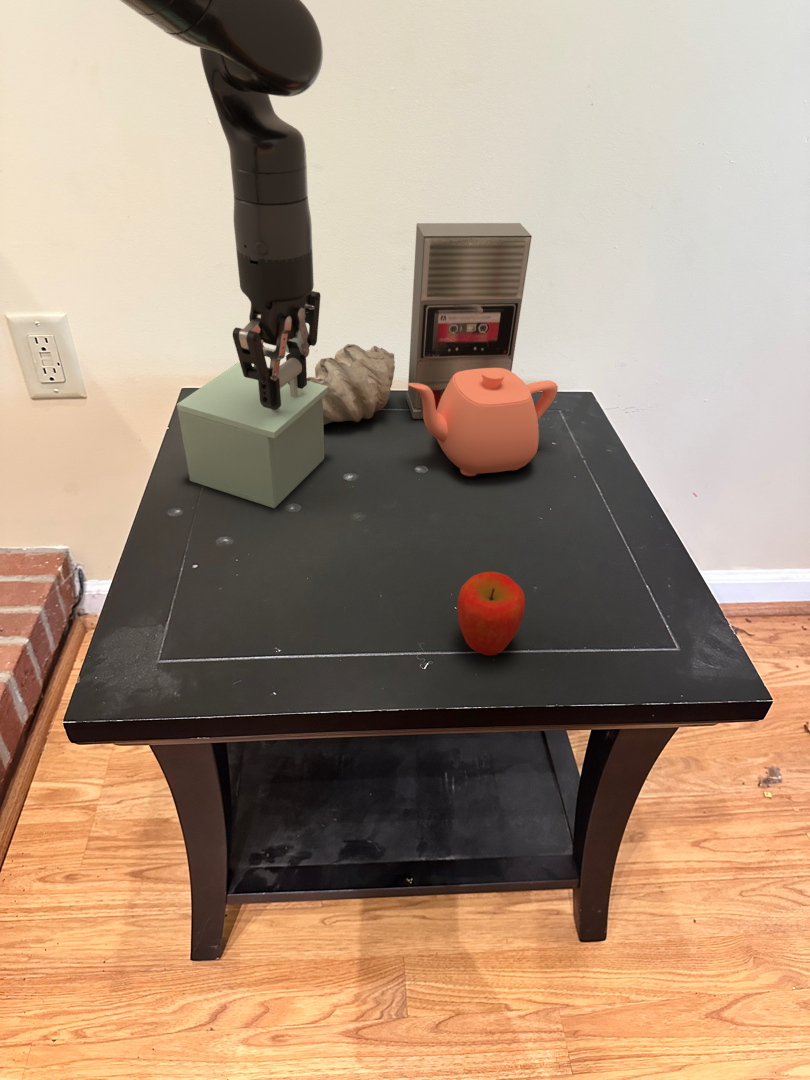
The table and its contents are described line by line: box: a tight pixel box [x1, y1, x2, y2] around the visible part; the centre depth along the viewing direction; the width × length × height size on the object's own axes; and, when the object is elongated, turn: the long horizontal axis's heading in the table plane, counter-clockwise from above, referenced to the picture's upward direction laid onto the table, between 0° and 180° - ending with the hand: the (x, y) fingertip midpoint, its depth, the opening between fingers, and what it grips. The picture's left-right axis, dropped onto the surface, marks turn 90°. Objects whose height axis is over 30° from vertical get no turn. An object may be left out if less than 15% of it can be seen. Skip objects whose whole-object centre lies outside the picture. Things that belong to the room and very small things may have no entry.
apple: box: [457, 571, 526, 657], centre depth 68 cm, size 6×6×8 cm
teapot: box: [407, 368, 559, 477], centre depth 93 cm, size 13×20×12 cm, turn 106°
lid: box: [176, 358, 328, 439], centre depth 84 cm, size 13×12×5 cm
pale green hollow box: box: [177, 397, 325, 509], centre depth 89 cm, size 12×12×10 cm
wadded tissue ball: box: [307, 343, 396, 425], centre depth 100 cm, size 10×15×10 cm
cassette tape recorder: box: [405, 222, 533, 420], centre depth 98 cm, size 14×6×25 cm, turn 99°
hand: (284, 395), depth 83 cm, fingers closed on lid, 5 cm apart
